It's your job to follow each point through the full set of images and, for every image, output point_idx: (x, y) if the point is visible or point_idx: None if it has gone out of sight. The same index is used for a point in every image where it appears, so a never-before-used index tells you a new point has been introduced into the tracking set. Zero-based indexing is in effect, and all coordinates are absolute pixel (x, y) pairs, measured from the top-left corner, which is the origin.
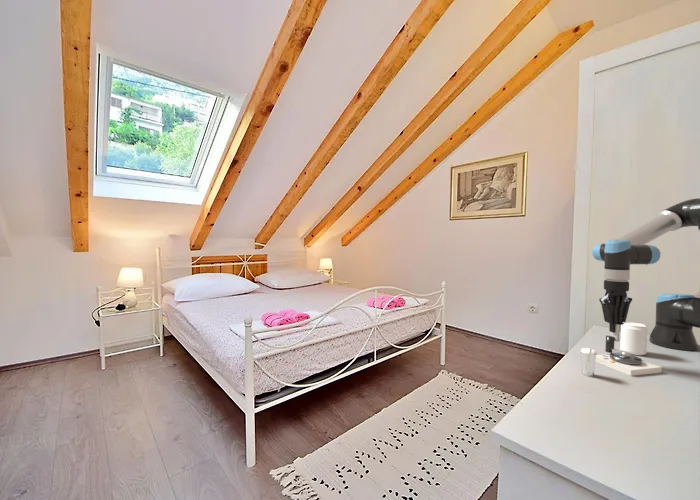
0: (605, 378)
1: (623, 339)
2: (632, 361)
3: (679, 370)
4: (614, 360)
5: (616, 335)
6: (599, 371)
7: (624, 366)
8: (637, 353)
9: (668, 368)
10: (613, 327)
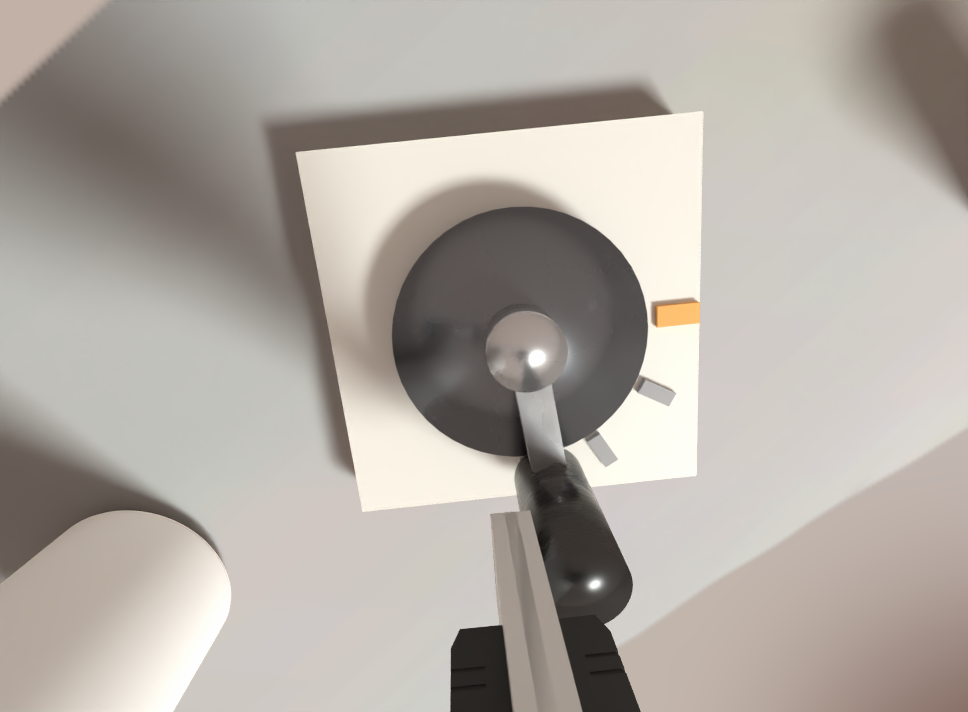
0: (950, 99)
1: (174, 691)
2: (575, 219)
3: (84, 184)
4: None
5: (543, 570)
6: (848, 240)
7: (668, 205)
8: (167, 523)
9: (150, 237)
10: (622, 694)
